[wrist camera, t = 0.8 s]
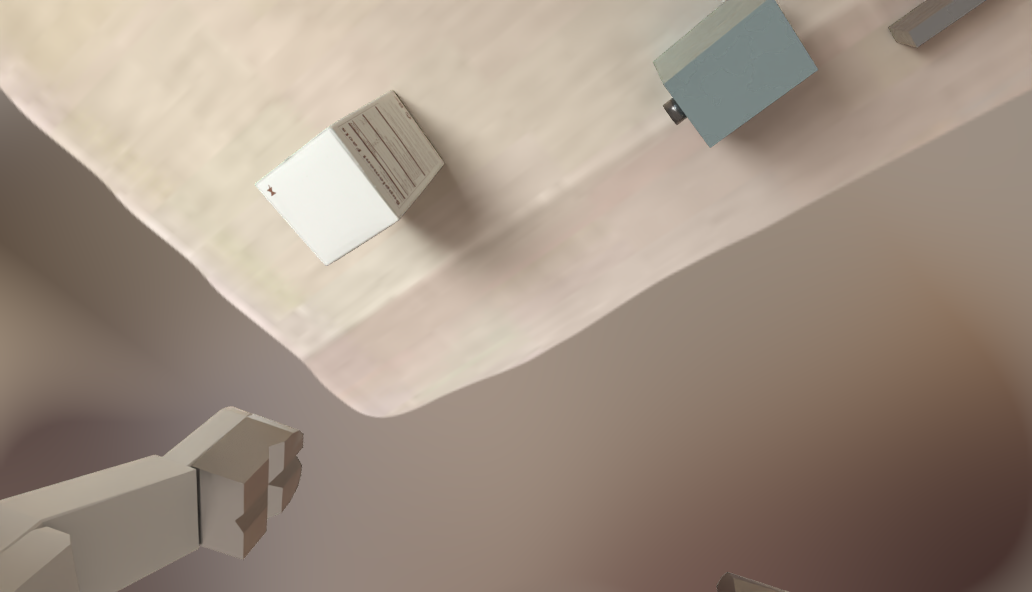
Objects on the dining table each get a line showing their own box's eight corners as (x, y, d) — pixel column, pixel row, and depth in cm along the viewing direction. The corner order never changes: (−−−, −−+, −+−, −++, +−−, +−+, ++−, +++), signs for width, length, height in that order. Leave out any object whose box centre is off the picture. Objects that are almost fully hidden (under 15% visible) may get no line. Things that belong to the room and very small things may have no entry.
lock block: (681, 122, 43) (697, 157, 35) (642, 70, 41) (650, 94, 34) (777, 49, 39) (818, 69, 32) (738, -11, 38) (772, -5, 30)
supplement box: (384, 204, 50) (323, 270, 39) (329, 133, 47) (248, 183, 37) (448, 163, 47) (401, 222, 36) (394, 85, 44) (326, 124, 34)
